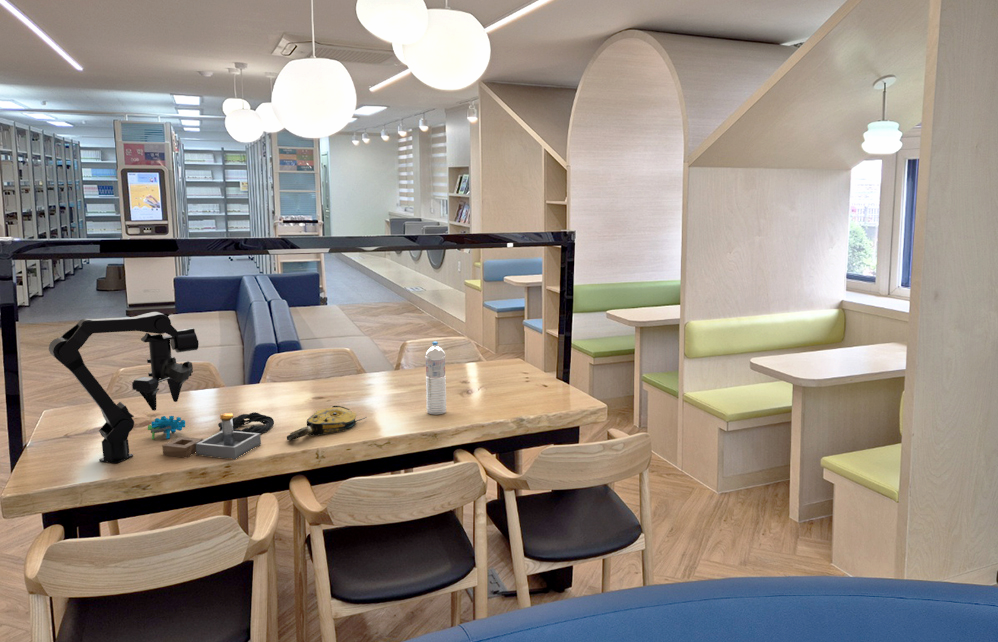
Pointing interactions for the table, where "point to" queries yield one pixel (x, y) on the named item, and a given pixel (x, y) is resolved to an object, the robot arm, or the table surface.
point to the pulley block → (327, 422)
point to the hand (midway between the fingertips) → (165, 405)
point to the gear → (166, 425)
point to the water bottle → (435, 380)
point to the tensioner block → (181, 447)
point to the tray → (218, 449)
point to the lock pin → (227, 429)
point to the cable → (252, 417)
